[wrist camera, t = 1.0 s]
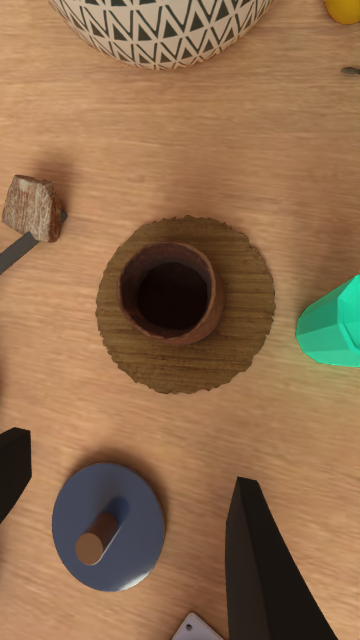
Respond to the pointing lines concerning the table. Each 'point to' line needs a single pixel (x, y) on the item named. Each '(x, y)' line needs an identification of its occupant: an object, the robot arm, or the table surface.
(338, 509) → the table surface
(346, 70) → the toy
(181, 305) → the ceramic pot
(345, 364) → the candle
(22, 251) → the spatula
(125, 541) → the lid
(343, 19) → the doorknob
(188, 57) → the planter
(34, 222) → the stone
